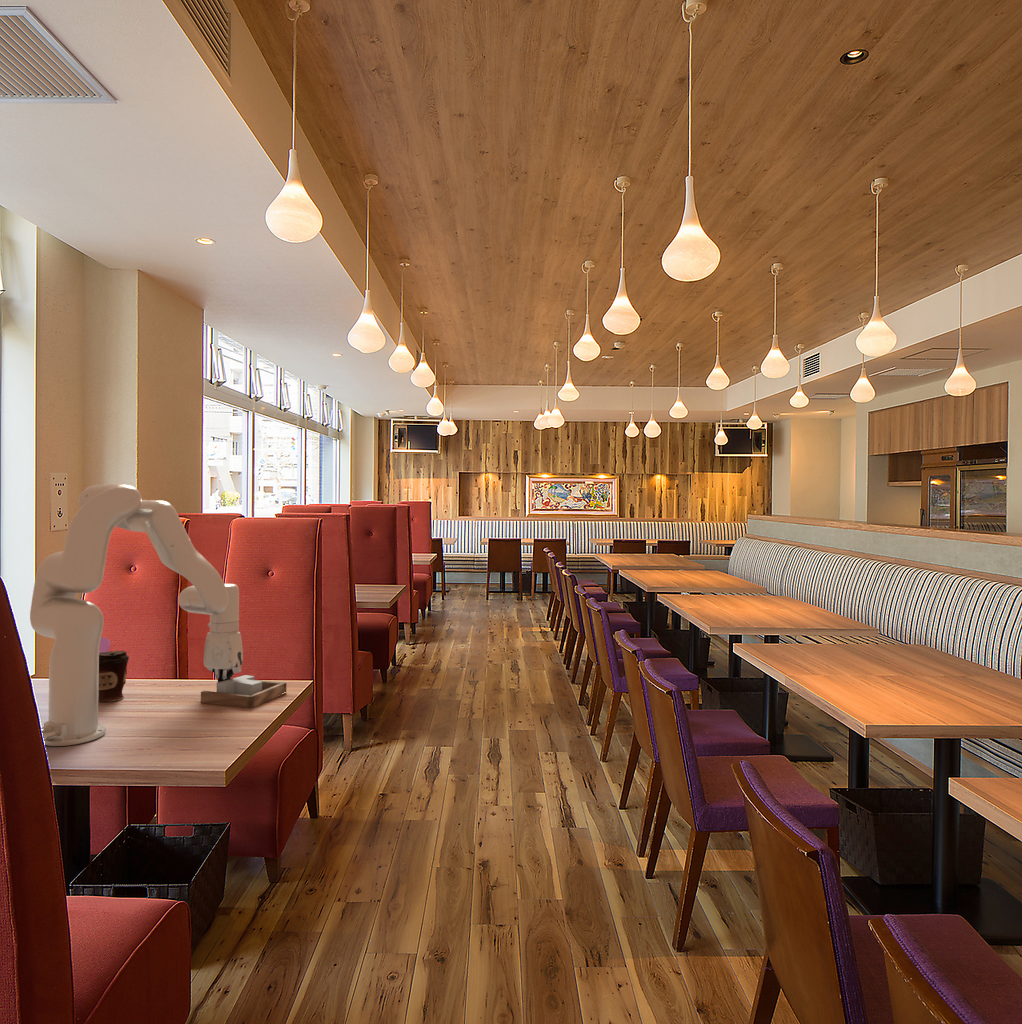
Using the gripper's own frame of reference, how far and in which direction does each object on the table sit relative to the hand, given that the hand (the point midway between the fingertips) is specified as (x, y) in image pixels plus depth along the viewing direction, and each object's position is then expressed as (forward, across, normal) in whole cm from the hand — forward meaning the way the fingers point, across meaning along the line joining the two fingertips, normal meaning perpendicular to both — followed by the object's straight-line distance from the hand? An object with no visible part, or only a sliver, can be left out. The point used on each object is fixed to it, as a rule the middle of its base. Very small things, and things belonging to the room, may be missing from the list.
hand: (223, 691), depth 185 cm
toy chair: (+1, -38, -5) cm, 39 cm away
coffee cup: (+1, -26, -13) cm, 30 cm away
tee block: (+1, +8, -1) cm, 8 cm away
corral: (+1, +6, 0) cm, 7 cm away
